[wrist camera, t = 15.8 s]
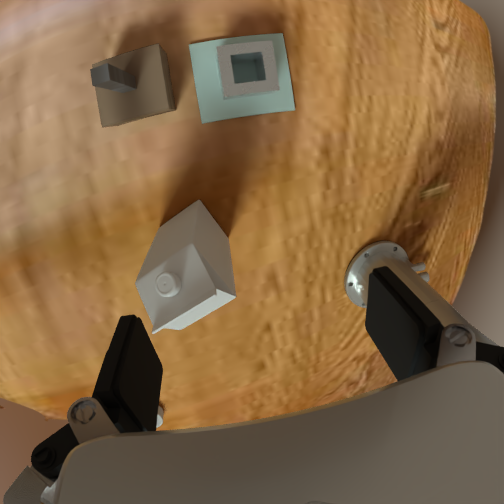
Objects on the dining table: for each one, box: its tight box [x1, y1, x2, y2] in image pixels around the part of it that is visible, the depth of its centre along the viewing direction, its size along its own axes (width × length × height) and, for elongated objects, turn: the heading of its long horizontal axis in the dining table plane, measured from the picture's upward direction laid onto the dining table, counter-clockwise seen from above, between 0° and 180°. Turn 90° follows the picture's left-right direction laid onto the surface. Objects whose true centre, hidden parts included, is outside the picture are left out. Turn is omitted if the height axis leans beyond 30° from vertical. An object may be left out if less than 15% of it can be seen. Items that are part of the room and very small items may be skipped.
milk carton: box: [135, 200, 236, 334], centre depth 33 cm, size 7×7×19 cm
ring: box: [216, 40, 280, 101], centre depth 30 cm, size 6×6×6 cm
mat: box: [189, 33, 295, 124], centre depth 33 cm, size 12×11×1 cm
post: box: [90, 43, 176, 127], centre depth 26 cm, size 8×8×15 cm
